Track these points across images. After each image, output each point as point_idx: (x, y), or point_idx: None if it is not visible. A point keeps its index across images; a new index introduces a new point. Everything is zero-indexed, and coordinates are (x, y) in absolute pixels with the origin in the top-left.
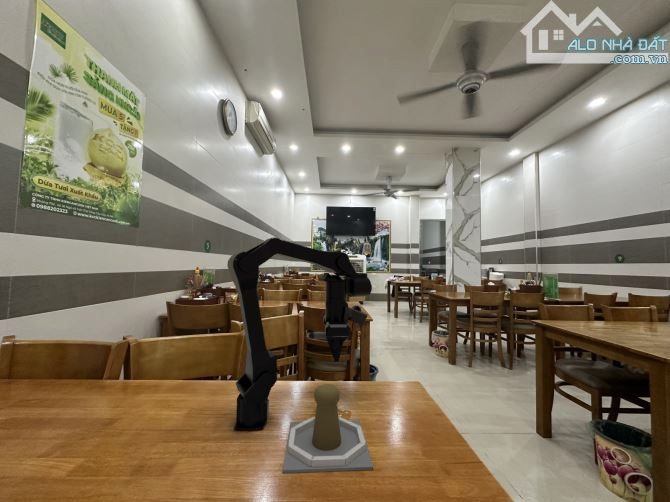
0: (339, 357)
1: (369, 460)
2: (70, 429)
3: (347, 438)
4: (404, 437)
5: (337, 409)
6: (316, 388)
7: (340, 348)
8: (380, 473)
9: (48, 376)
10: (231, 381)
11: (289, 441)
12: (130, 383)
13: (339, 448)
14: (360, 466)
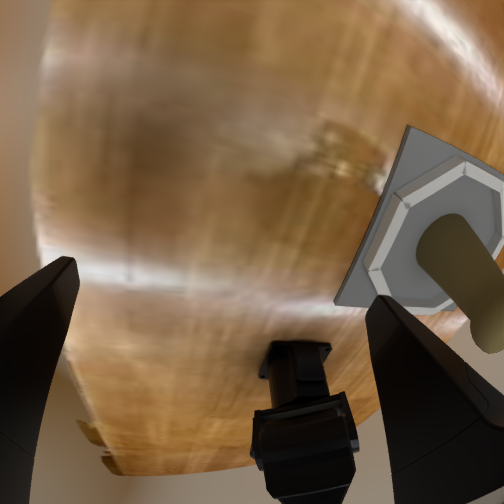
0: (411, 315)
1: None
2: (238, 456)
3: (458, 197)
4: (493, 60)
5: (498, 269)
6: (489, 353)
7: (465, 375)
8: None
9: (113, 468)
10: (82, 382)
11: (423, 314)
12: (118, 446)
13: (471, 225)
14: None
